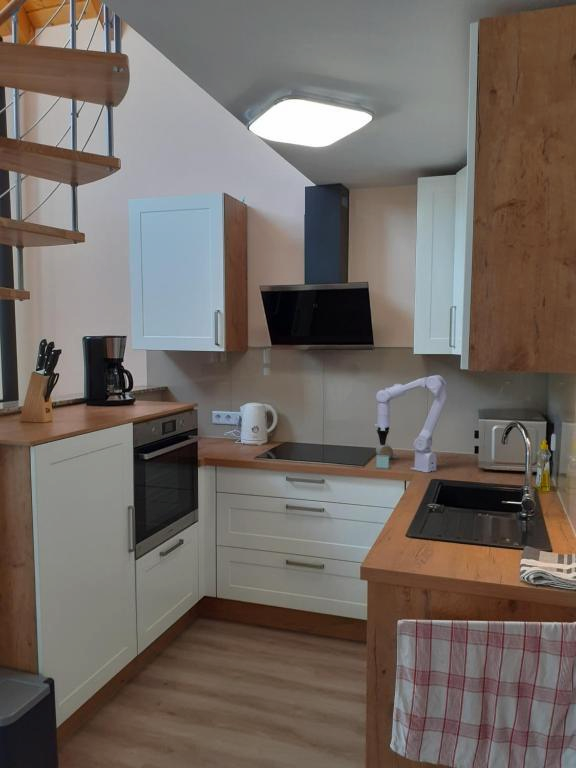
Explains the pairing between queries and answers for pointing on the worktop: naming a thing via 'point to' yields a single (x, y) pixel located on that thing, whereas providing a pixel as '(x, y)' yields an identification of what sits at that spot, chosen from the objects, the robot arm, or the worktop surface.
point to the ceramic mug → (385, 451)
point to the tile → (382, 462)
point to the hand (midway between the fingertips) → (382, 443)
